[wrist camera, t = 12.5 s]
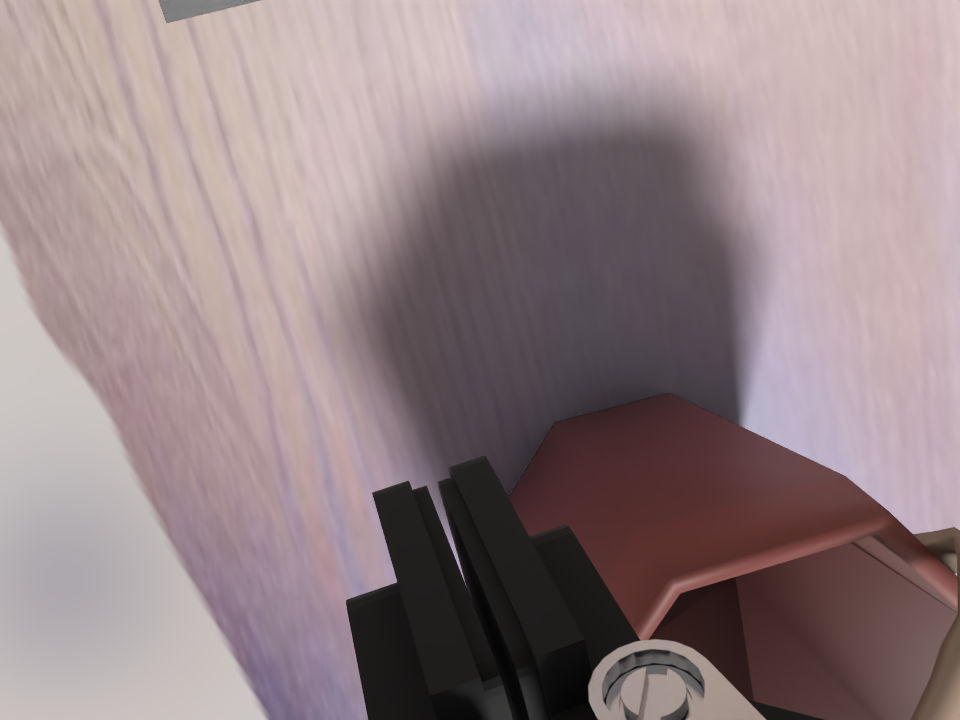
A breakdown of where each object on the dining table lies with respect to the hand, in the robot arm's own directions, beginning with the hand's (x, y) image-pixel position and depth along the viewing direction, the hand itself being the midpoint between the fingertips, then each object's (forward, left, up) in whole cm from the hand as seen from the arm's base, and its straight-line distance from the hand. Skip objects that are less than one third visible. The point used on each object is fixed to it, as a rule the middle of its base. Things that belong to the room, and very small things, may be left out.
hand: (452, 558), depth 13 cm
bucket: (+6, +30, -35) cm, 47 cm away
